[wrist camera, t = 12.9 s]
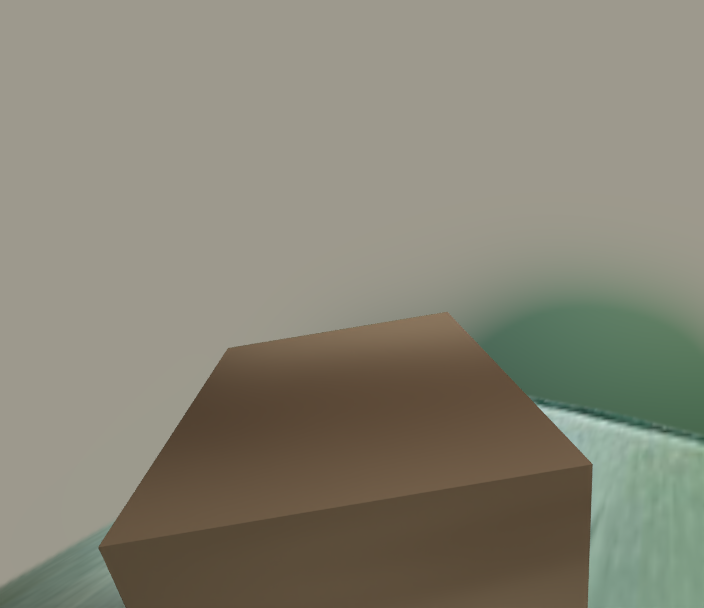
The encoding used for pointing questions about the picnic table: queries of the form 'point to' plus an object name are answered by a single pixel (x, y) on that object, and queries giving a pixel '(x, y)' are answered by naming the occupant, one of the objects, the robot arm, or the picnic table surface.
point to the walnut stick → (359, 483)
